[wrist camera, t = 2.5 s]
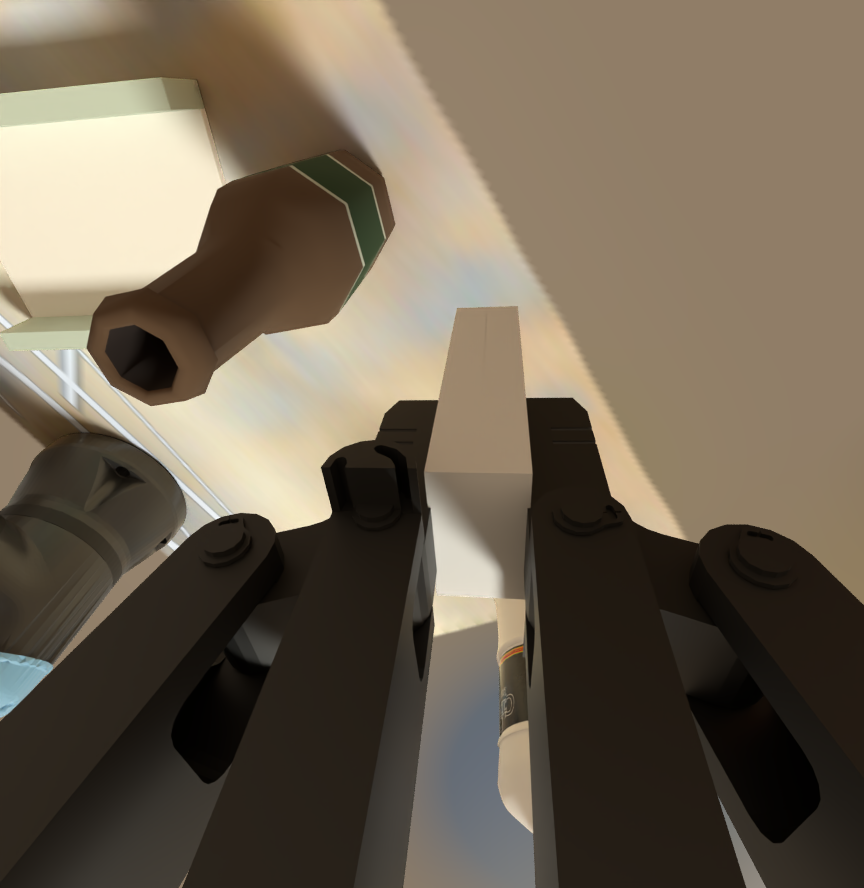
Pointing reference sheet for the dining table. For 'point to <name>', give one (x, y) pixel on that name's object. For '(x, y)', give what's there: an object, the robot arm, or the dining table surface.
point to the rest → (98, 197)
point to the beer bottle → (247, 276)
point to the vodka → (513, 712)
